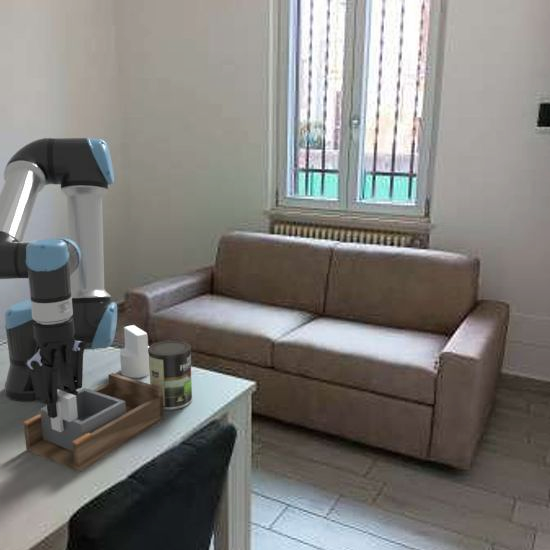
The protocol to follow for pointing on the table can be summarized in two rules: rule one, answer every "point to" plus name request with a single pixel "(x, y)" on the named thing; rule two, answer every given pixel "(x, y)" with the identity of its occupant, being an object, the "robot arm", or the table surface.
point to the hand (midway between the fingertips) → (63, 426)
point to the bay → (93, 446)
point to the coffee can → (171, 372)
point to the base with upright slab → (135, 353)
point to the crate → (81, 415)
